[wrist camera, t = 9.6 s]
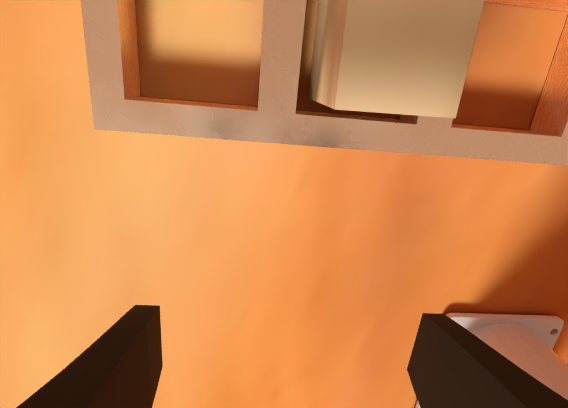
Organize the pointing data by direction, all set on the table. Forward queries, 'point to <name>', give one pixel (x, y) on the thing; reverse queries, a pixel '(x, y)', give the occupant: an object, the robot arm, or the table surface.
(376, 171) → the table surface
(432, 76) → the birch peg
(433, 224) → the table surface
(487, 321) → the robot arm
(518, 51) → the table surface
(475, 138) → the tan slotted board
